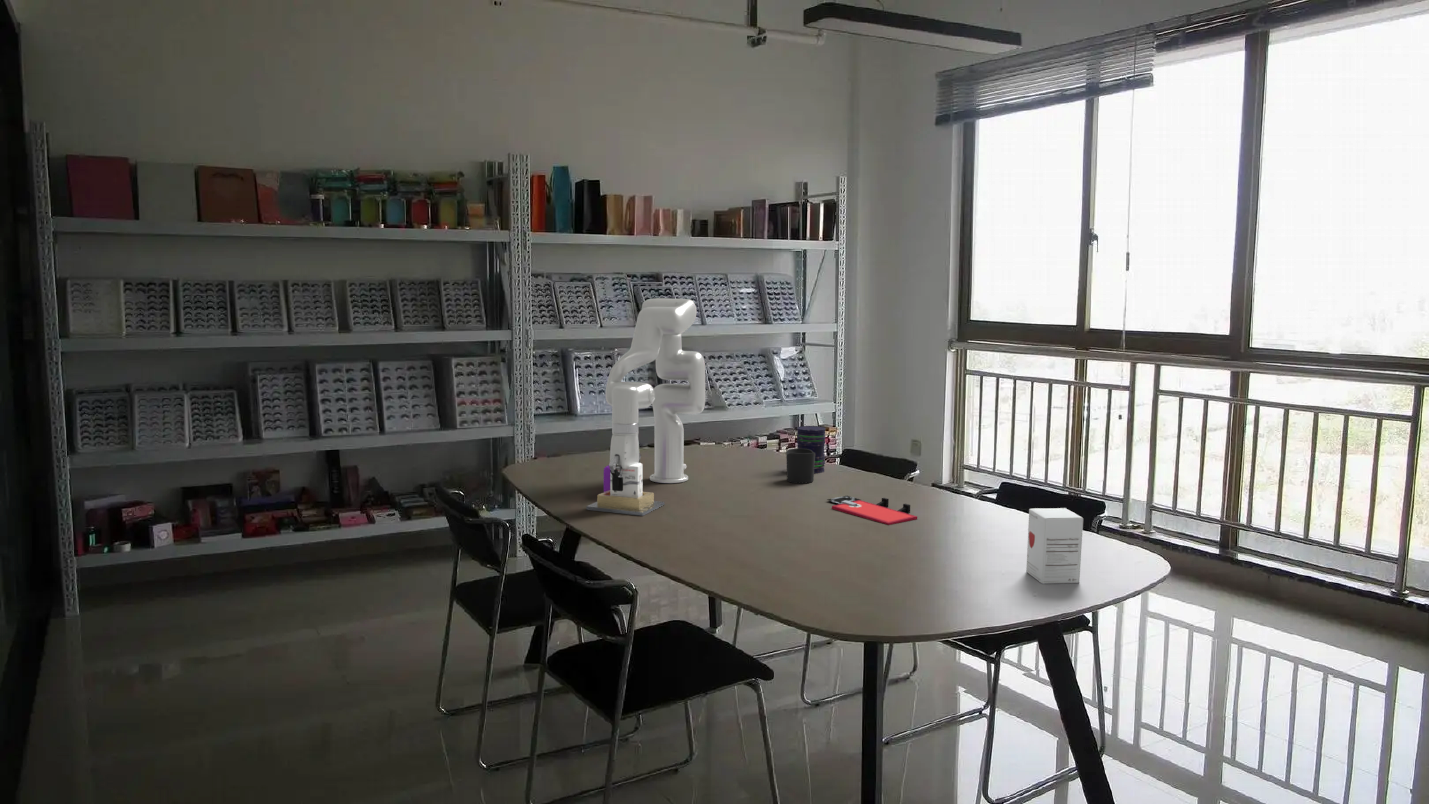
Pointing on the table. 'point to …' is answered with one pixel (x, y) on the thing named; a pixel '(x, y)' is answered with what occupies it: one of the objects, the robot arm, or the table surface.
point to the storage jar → (813, 443)
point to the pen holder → (800, 465)
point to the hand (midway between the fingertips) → (625, 487)
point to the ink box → (630, 482)
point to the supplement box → (1054, 545)
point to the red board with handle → (873, 510)
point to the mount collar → (625, 504)
